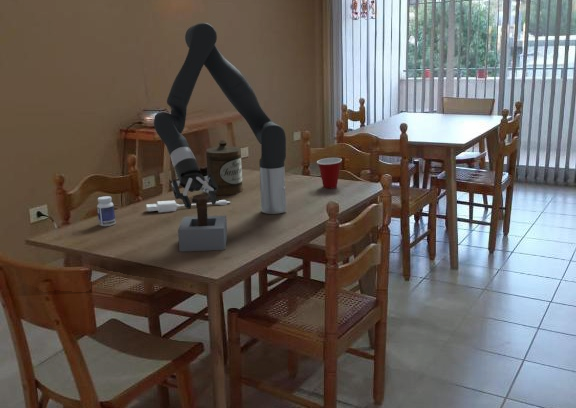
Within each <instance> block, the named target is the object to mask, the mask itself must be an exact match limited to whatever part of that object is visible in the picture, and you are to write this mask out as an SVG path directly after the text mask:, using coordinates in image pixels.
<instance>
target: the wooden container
mask: <svg viewBox="0 0 576 408" xmlns="http://www.w3.org/2000/svg"><path fill="white" fill-rule="evenodd" d="M227 144H228V142H227V140H224V139H221V140H219V142H218V145H219V146H215V147H209V148H206V151H205V153H206V154H205V155H206V176H208V175H209V174H212V176H213V178H214V180H215V182H216V184H217V186H218V189H217V191H216V193H215V196H217V195H218V196H228V195H234V194H238V193H241V192H242V191H243V170H242V169H243V168H242V156H241V155H242V150H241V148H240V147H237V146H228V145H227ZM207 184H208V185H209V183H207ZM209 186H210V185H209Z"/></svg>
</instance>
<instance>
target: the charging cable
mask: <svg viewBox="0 0 576 408" xmlns="http://www.w3.org/2000/svg"><path fill="white" fill-rule="evenodd" d="M230 203H231V201H229V200H228V201H227V200H226V199H221V200H220V199H219V200H218V201H216V203H215V204H214V205H217V206H225V205H228V204H230ZM208 205H212V202H208V203H207V206H208ZM145 206H146V208H145V210H146V211H147V212H155V211H157V213H159V214H161V213H169V212H177V209H178V208H180V207H185V205H184V204H179V203H177V202H176V199H175V200H174V199H173V200H161V201H159V200H157V201H156V203H149V204H148V203H147V204H145ZM192 206H196V203H191V207H192Z"/></svg>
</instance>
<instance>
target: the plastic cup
mask: <svg viewBox="0 0 576 408" xmlns="http://www.w3.org/2000/svg"><path fill="white" fill-rule="evenodd" d="M342 161H343V159H342V158H339V157H327V158H321V159H319V160H317V161H316V164H317V165H318V167H319V173H320V177H321V181H322V186H323V188H325V189H335V188H337V187H338V180H339V176H340V169H341V164H342Z"/></svg>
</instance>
